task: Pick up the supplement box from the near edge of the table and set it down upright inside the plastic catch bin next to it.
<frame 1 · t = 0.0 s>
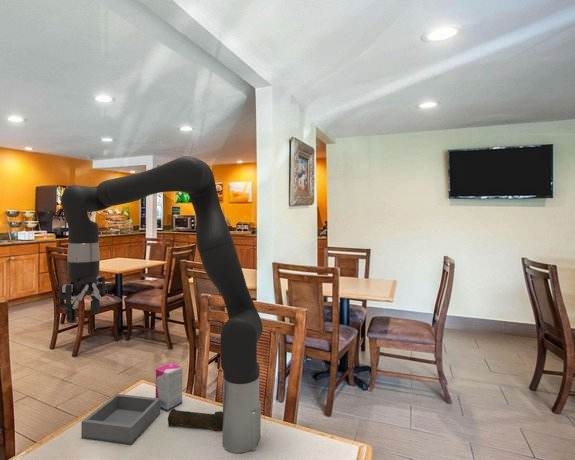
hand: (84, 317, 94), 29 cm above the table, fingers open, 8 cm apart
supplement box: (168, 405, 105), on the table
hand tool: (202, 426, 95), on the table
catch bin: (123, 425, 94), on the table
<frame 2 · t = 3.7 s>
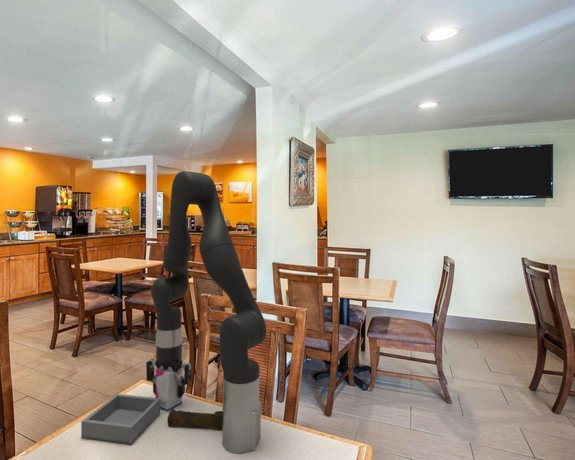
hand: (168, 395, 104), 3 cm above the table, fingers closed on supplement box, 7 cm apart
supplement box: (168, 405, 105), on the table, touching gripper
everything else where it was.
when the fingers open (5 cm above the table, at t = 10.9 s): supplement box drops 2 cm, resting on catch bin.
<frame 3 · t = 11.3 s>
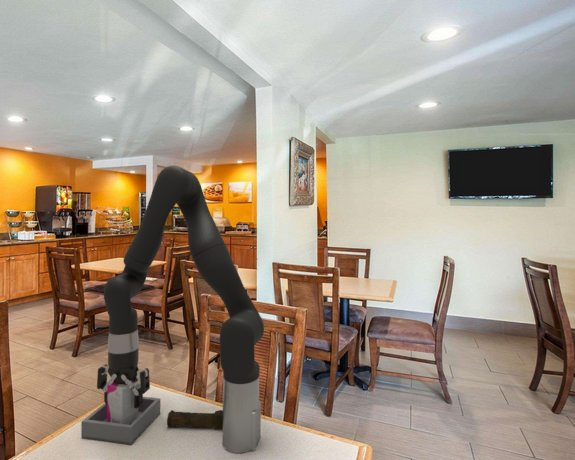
hand: (123, 405, 94), 6 cm above the table, fingers open, 8 cm apart
supplement box: (122, 423, 94), resting on catch bin
everything else where it was.
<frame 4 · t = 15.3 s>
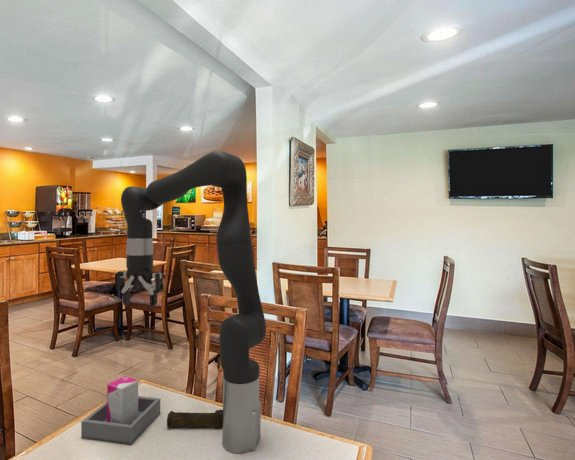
hand: (139, 305, 104), 30 cm above the table, fingers open, 8 cm apart
nothing on the table moved.
at the end: supplement box inside the target area on the catch bin (0.2 cm from its centre), point 0.4 cm above the catch bin's base; supplement box tilted 0°; the gripper is holding nothing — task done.
